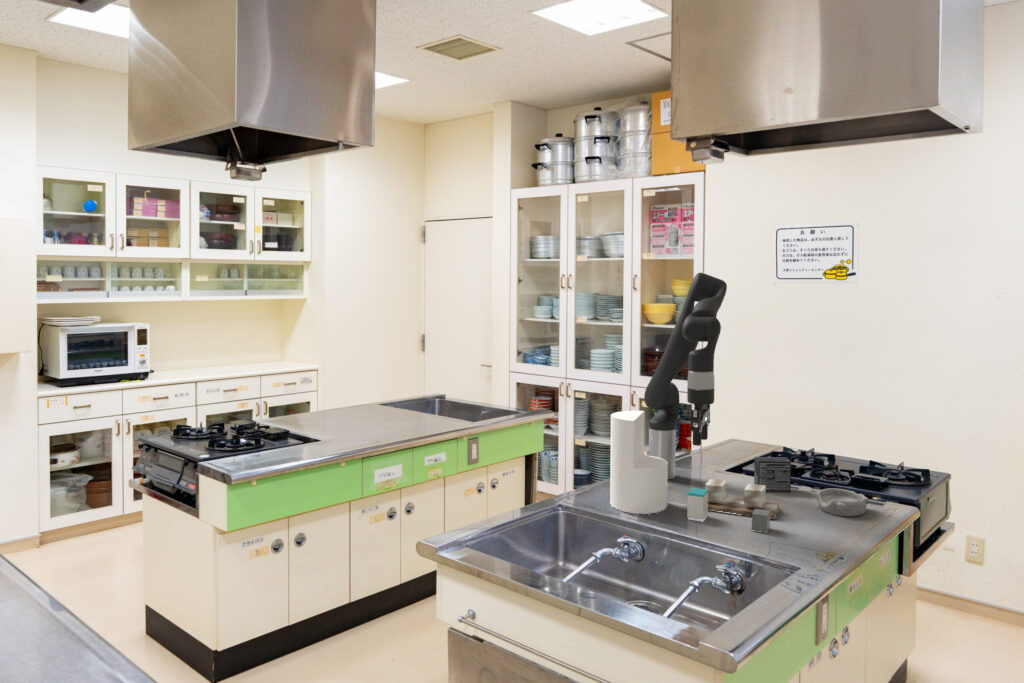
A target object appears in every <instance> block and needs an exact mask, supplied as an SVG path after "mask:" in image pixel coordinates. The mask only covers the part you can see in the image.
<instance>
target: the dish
mask: <svg viewBox="0 0 1024 683" xmlns="http://www.w3.org/2000/svg"><path fill="white" fill-rule="evenodd" d="M817 502H818V507H819V508H820V510H822V511H823V512H825V513H828V514H831V515H834V516H838V517H858V516H862V515H864V514H865V512H866V511H867V505H868V504H869V498H868V497H866V496H865V495H864V494H862V493H857V492H856V491H853V490H849V489H844V488H834V487H833V488H832V487H831V488H823V489H821V490H819V491H818V492H817Z"/></svg>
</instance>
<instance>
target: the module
mask: <svg viewBox="0 0 1024 683" xmlns="http://www.w3.org/2000/svg"><path fill="white" fill-rule="evenodd" d="M686 504H687V506H686V507H687V508H686V511H687V512H686V514H687V515H686V519H687V518H694V519H702V520H703V519H704V518H705V517H706V516H707V514H708V512H709V511H708V490H706V489H705V488H704V489H703V488H698V487H692V488H691V489H690V490H689V491H688V492H687V503H686ZM708 515H709V514H708Z"/></svg>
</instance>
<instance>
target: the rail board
mask: <svg viewBox="0 0 1024 683" xmlns="http://www.w3.org/2000/svg"><path fill="white" fill-rule="evenodd" d="M727 483H728V481H727V480H724V479H713V478H710V479H709V480H708V481H706V483H705V484H704V489H706V490H708V510H714V511H723V512H730V513H736V514H741V515H748V516H752V513H753V511H754V510H755V509H761V510H769V511H770V519H774V520H775V518H776V516H777V514H778V512H779V510H780V505H781V504H780V503H776V502H769V501H766V497H767V496H766V493H767V492H766V485H758V484H754V483H748V484H747V485H746V486H745V488H744V489H743V491H744V492H743V493H744V494H743V496H744V497H743V498H738V497H737V498H736V497H730V496H729V497H728V496H727V495H728V494H727V492H728V488H727V487H728V486H727V485H728V484H727ZM775 515H776V516H775ZM748 516H747V517H748ZM774 517H775V518H774Z"/></svg>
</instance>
